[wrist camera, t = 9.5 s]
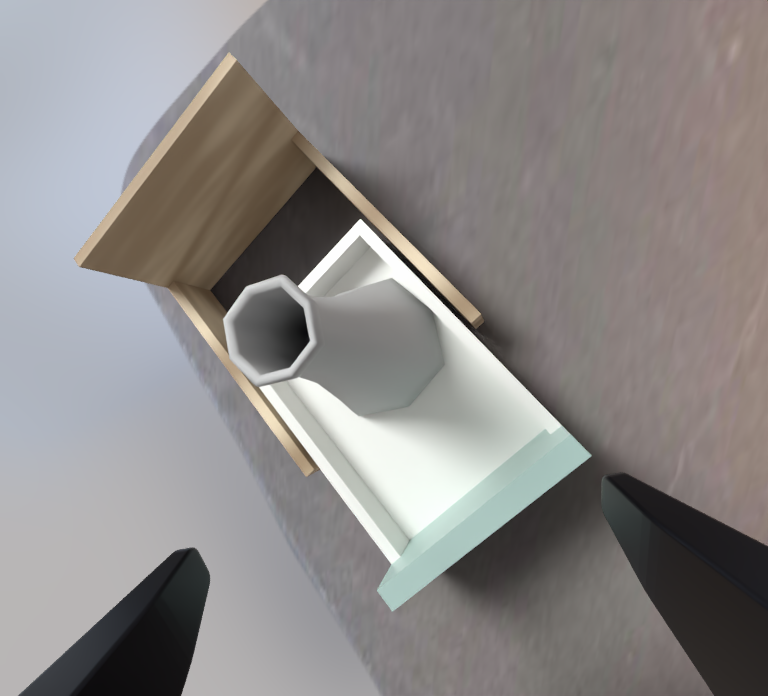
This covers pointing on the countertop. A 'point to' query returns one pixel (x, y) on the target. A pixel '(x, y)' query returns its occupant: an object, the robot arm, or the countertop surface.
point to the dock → (225, 213)
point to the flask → (337, 341)
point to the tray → (426, 437)
